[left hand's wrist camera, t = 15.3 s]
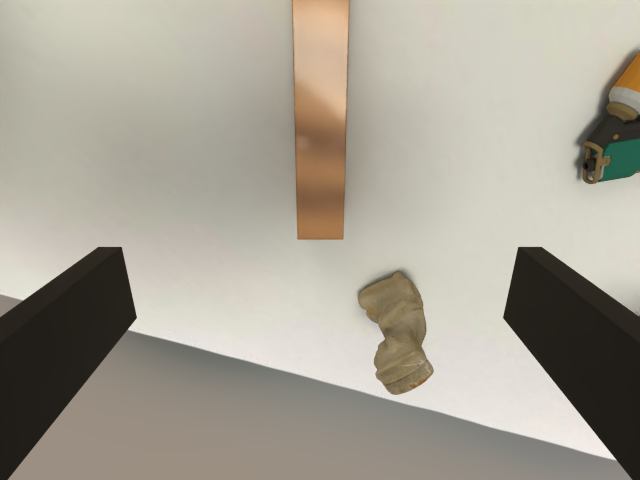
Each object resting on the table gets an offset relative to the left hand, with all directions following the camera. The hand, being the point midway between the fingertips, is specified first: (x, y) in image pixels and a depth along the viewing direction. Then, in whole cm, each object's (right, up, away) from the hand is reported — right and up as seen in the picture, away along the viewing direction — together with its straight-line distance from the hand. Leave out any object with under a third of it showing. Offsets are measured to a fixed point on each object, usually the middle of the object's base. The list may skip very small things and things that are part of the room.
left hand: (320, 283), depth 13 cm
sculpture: (+8, -5, +36) cm, 37 cm away
